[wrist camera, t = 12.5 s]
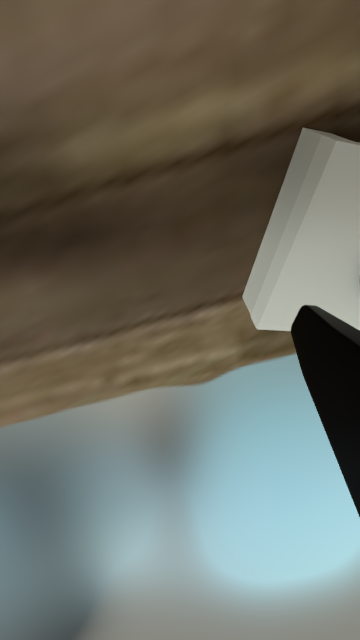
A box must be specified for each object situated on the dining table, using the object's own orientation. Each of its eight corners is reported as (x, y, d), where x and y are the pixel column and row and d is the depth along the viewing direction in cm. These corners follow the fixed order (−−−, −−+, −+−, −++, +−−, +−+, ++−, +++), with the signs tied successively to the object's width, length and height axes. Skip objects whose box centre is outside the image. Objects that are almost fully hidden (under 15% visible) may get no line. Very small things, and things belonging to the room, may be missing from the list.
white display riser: (241, 297, 26) (256, 329, 23) (301, 127, 18) (336, 140, 15) (367, 306, 28) (396, 336, 25) (463, 160, 21) (522, 177, 18)
